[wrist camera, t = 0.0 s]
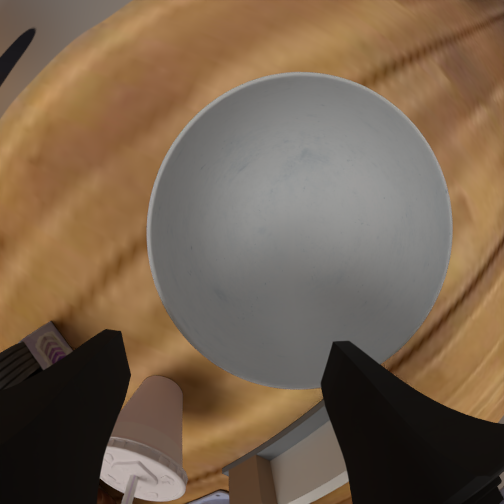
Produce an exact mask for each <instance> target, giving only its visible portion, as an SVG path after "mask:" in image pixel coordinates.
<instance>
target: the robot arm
mask: <svg viewBox="0 0 504 504" xmlns="http://www.w3.org/2000/svg"><path fill="white" fill-rule="evenodd" d="M130 377H131V373H130V369H129V365H128V361H127V357H126V352H125V348H124V343H123V338H122V333H121V331H115V330H109V329H105V330H103V331H102V332H100V333H98V334H97V335H95V336H94V337H93V338H91V339H90V340H88V341H87V342H85V343H84V344H82V345H81V346H80V347H78V348H77V349H75V350H74V351H72V352H71V353H69V354H68V355H66V356H65V357H64V358H62V359H61V360H59V361H57V362H56V363H54V364H53V365H51V366H49V367H48V368H46V369H45V370H43V371H41V372H40V373H38V374H36V375H34V376H32V377H31V378H29V379H27V380H25V381H23V382H21V383H19V384H16V385H14V386H12V387H9V388H7V389H4V390H2V391H0V504H97V495H98V487H99V480H100V474H101V469H102V464H103V459H104V454H105V451H106V448H107V445H108V442H109V439H110V436H111V434H112V431H113V428H114V426H115V423H116V421H117V418H118V416H119V413H120V410H121V408H122V405H123V403H124V400H125V397H126V393H127V389H128V385H129V381H130ZM320 384H321V389H322V394H323V399H324V403H325V407H326V410H327V413H328V416H329V419H330V421H331V424H332V427H333V430H334V432H335V435H336V438H337V441H338V443H339V446H340V449H341V452H342V455H343V458H344V461H345V465H346V469H347V474H348V479H349V484H350V490H351V496H352V502H353V504H504V486H503V487H502V488H501V489H500V490H499V489H498V487H497V486H498V485H499V484H500V483H501V479H500V477H499V475H500V474H501V473H502V472H504V424H499V423H493V422H489V421H485V420H482V419H478V418H475V417H472V416H469V415H466V414H463V413H461V412H458V411H456V410H453V409H451V408H448V407H446V406H444V405H442V404H440V403H438V402H436V401H434V400H432V399H431V398H429V397H427V396H425V395H423V394H422V393H420V392H418V391H417V390H415V389H414V388H412V387H411V386H409V385H408V384H406V383H405V382H403V381H402V380H400V379H399V378H397V377H396V376H395V375H393V374H392V373H391V372H389V371H388V370H387V369H385V368H384V367H383V366H381V365H380V364H379V363H378V362H376V361H375V360H374V359H372V358H371V357H370V356H369V355H367V354H366V353H365V352H364V351H362V350H361V349H360V348H358V347H357V346H356V345H354V344H353V343H352V342H350V341H333V343H332V347H331V350H330V354H329V357H328V360H327V364H326V367H325V370H324V373H323V377H322V380H321V383H320ZM188 504H229V493H227V492H225V491H217V492H214V493H212V494H210V495H208V496H205V497H203V498H200V499H198V500H195V501H193V502H190V503H188Z"/></svg>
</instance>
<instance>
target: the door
mask: <svg viewBox="0 0 504 504" xmlns="http://www.w3.org/2000/svg"><path fill="white" fill-rule="evenodd" d="M222 474H225V475H227V476H229V504H309V503H311V502H313V501H315V500H317V499H319V498H321V497H323V496H325V495H326V494H328V493H330V492H332V491H333V490H335V489H337V488H339V487H340V486H342V485H344V484H345V483H347V482H348V481H349V479H348V474H347V469H346V465H345V461H344V458H343V455H342V452H341V449H340V446H339V443H338V441H337V438H336V435H335V432H334V430H333V427H332V424H331V421H330V419H329V416H328V413H327V410H326V407H325V403H324V399H323V400H322V401H321V402H319V403H318V404H317V405H316V406H314V407H313V408H312V409H311V410H309V411H308V412H307V413H306V414H304V415H303V416H302V417H300V418H299V419H298V420H296V421H295V422H294V423H292V424H291V425H290V426H288V427H287V428H285V429H284V430H283V431H281V432H280V433H278V434H277V435H276V436H274V437H273V438H271V439H270V440H268V441H267V442H265V443H264V444H262V445H261V446H259V447H257V448H256V449H254V450H253V451H251V452H249V453H248V454H246V455H245V456H243V457H241V458H240V459H238V460H236V461H234V462H233V463H231V464H229V465H227V466H226V467H224V468H222Z"/></svg>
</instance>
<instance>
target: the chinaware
mask: <svg viewBox="0 0 504 504" xmlns="http://www.w3.org/2000/svg"><path fill="white" fill-rule="evenodd" d="M451 247H452V211H451V204H450V198H449V193H448V189H447V185H446V182H445V179H444V176H443V173H442V170H441V168H440V165H439V163H438V161H437V159H436V157H435V155H434V153H433V151H432V149H431V147H430V146H429V144H428V142H427V141H426V139H425V138H424V136H423V135H422V134H421V132H420V131H419V130H418V129H417V127H416V126H415V125H414V124H413V123H412V122H411V120H410V119H409V118H408V117H407V116H406V115H405V114H404V113H403V112H402V111H400V110H399V109H398V108H397V107H396V106H395V105H393V104H392V103H391V102H389V101H388V100H387V99H385V98H384V97H382V96H381V95H379V94H378V93H376V92H374V91H372V90H371V89H369V88H367V87H365V86H362V85H360V84H358V83H355V82H353V81H350V80H347V79H344V78H341V77H337V76H332V75H328V74H321V73H312V72H291V73H281V74H275V75H270V76H265V77H261V78H258V79H255V80H252V81H249V82H247V83H244V84H242V85H239V86H237V87H235V88H233V89H231V90H230V91H228V92H226V93H224V94H223V95H221V96H219V97H218V98H216V99H215V100H214V101H212V102H211V103H210V104H208V105H207V106H206V107H205V108H203V109H202V110H201V111H200V112H199V113H198V114H197V115H196V116H195V117H194V118H193V119H192V120H191V121H190V122H189V123H188V124H187V125H186V126H185V128H184V129H183V130H182V131H181V133H180V134H179V135H178V137H177V138H176V140H175V141H174V143H173V144H172V146H171V147H170V149H169V151H168V153H167V154H166V156H165V158H164V160H163V162H162V164H161V167H160V169H159V171H158V174H157V177H156V180H155V183H154V186H153V189H152V193H151V198H150V203H149V209H148V217H147V248H148V257H149V263H150V268H151V272H152V276H153V280H154V283H155V286H156V289H157V291H158V294H159V296H160V299H161V301H162V303H163V305H164V307H165V309H166V311H167V313H168V314H169V316H170V318H171V319H172V321H173V322H174V324H175V325H176V327H177V328H178V329H179V331H180V332H181V333H182V334H183V336H184V337H185V338H186V339H187V340H188V341H189V342H190V344H191V345H192V346H193V347H194V348H195V349H197V350H198V351H199V352H200V353H201V354H202V355H203V356H205V357H206V358H207V359H208V360H210V361H211V362H213V363H214V364H215V365H217V366H219V367H220V368H222V369H223V370H225V371H227V372H229V373H231V374H233V375H235V376H237V377H239V378H242V379H244V380H247V381H250V382H253V383H256V384H260V385H264V386H268V387H274V388H281V389H314V388H321V384H320V383H321V380H322V377H323V373H324V370H325V367H326V364H327V360H328V357H329V354H330V350H331V347H332V343H333V341H350V342H352V343H353V344H354V345H356V346H357V347H358V348H360V349H361V350H362V351H364V352H365V353H366V354H367V355H369V356H370V357H371V358H372V359H374V360H375V361H376V362H378V363H379V364H381V363H383V362H384V361H386V360H387V359H388V358H390V357H391V356H392V355H393V354H395V353H396V352H397V351H398V350H399V349H400V348H401V347H402V346H404V345H405V344H406V343H407V341H408V340H409V339H410V338H411V337H412V336H413V335H414V334H415V332H416V331H417V330H418V329H419V327H420V326H421V325H422V323H423V322H424V320H425V319H426V317H427V316H428V314H429V313H430V311H431V309H432V307H433V305H434V303H435V301H436V299H437V297H438V295H439V293H440V290H441V288H442V285H443V282H444V279H445V276H446V273H447V269H448V265H449V260H450V254H451Z"/></svg>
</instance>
